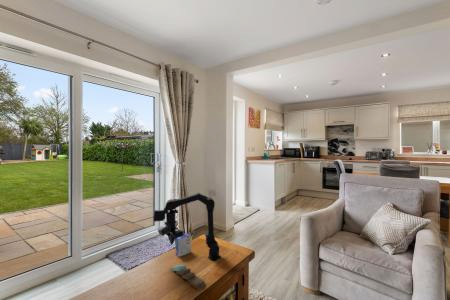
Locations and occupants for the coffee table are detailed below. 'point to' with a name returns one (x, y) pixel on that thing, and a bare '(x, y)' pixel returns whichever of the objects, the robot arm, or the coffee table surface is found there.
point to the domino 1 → (179, 267)
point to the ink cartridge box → (183, 245)
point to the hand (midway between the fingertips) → (171, 244)
